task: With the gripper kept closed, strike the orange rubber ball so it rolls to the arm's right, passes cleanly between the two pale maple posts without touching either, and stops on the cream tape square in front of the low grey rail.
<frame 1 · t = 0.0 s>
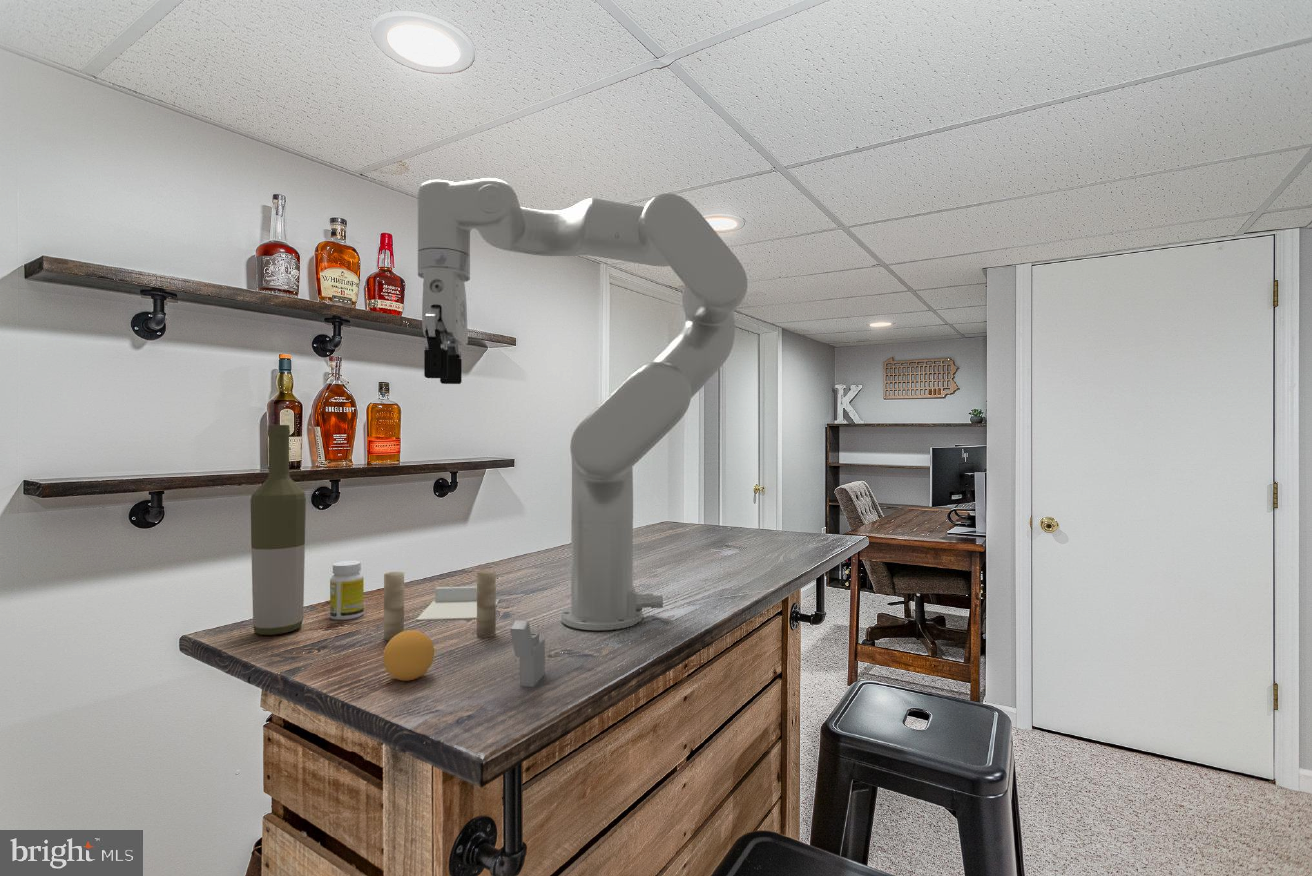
hand: (443, 381, 96), 37 cm above the table, tool pointing down, fingers open, 9 cm apart
stopper rail: (465, 601, 109), on the table
post 2: (486, 634, 91), on the table
supplement bottle: (346, 617, 101), on the table
ball: (409, 654, 75), on the table
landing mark: (460, 609, 104), on the table
lighter: (528, 686, 73), on the table
post 1: (394, 637, 90), on the table
bottle: (278, 632, 93), on the table
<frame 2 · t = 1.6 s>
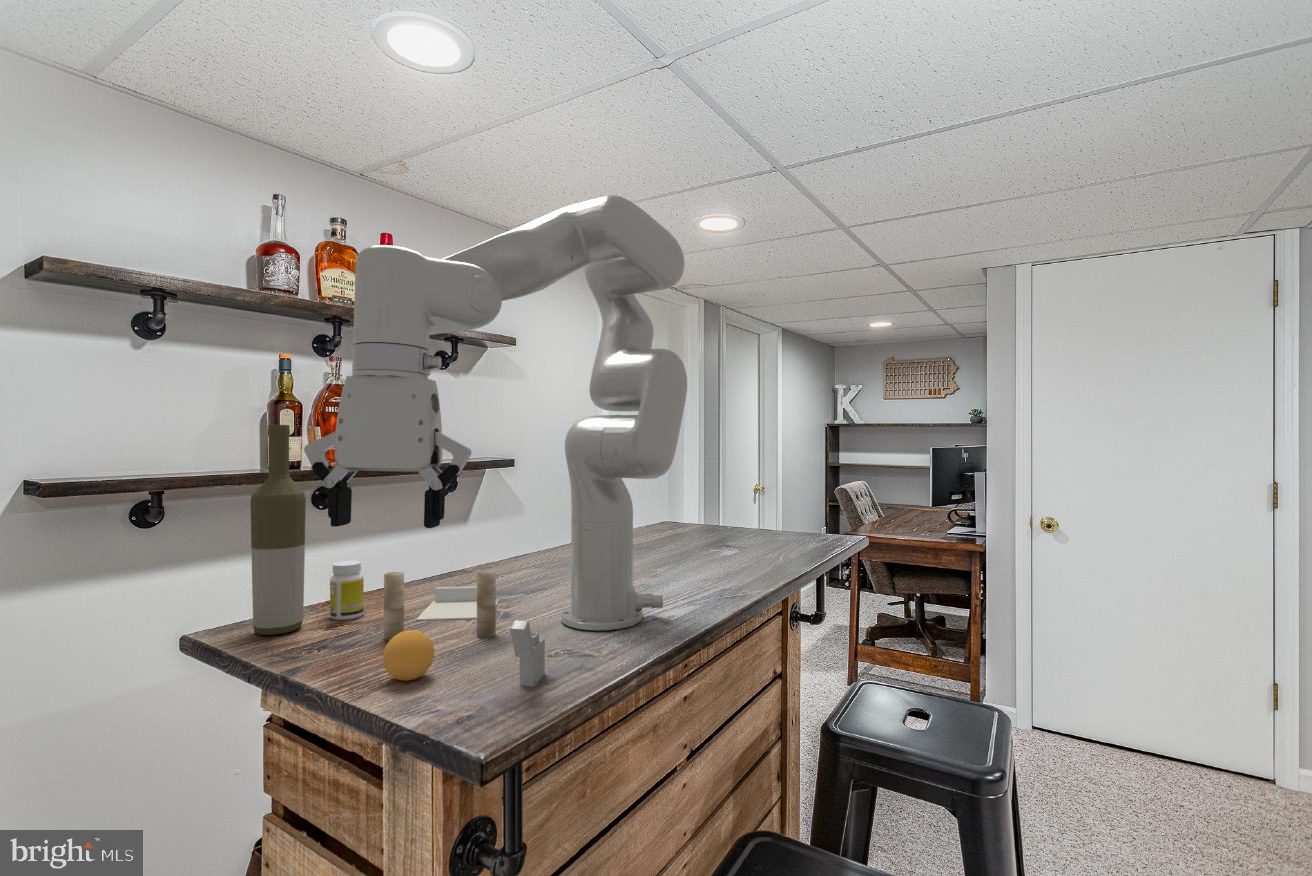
hand: (386, 525, 68), 19 cm above the table, tool pointing down, fingers open, 9 cm apart
nothing on the table moved.
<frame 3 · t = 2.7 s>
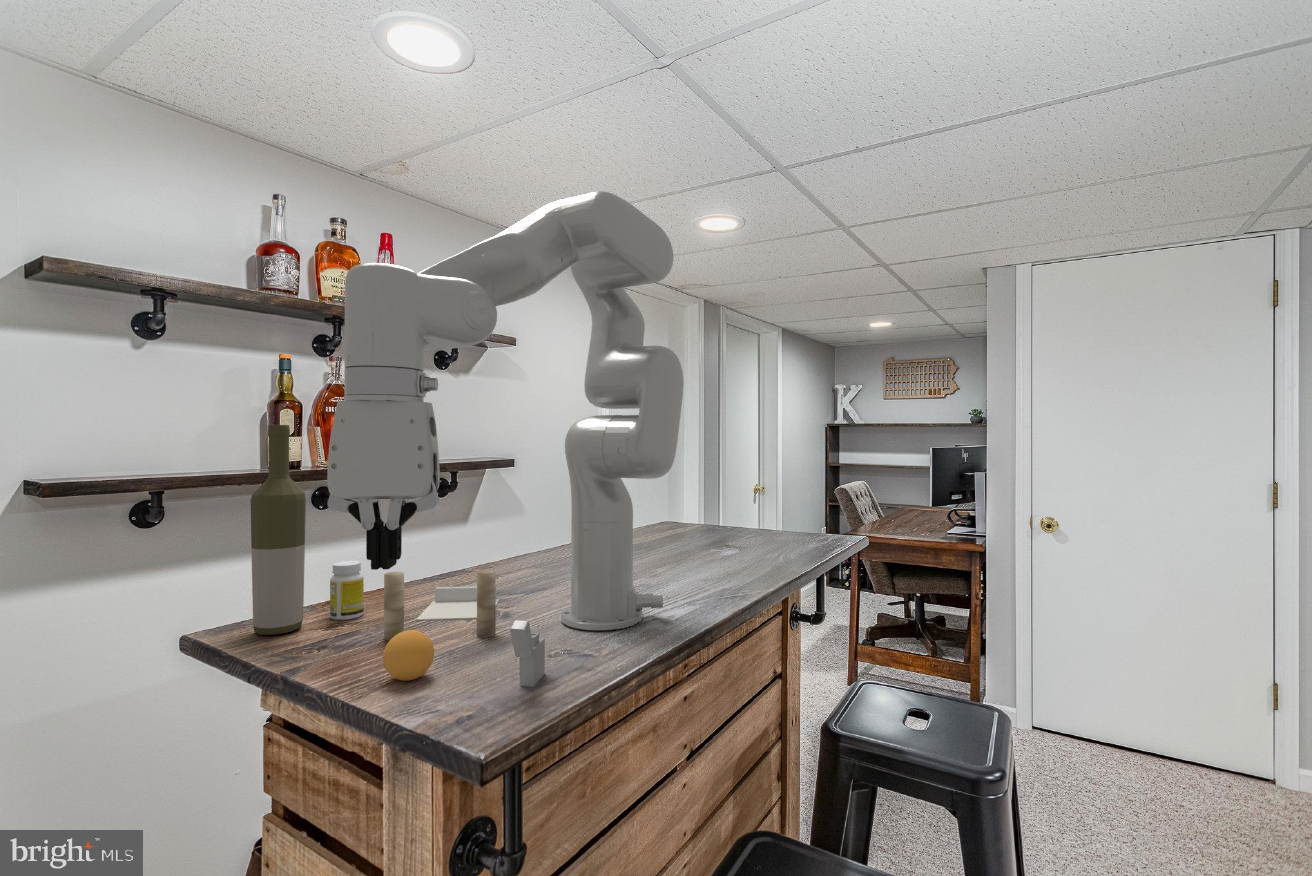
hand: (384, 566, 66), 15 cm above the table, tool pointing down, fingers closed
nothing on the table moved.
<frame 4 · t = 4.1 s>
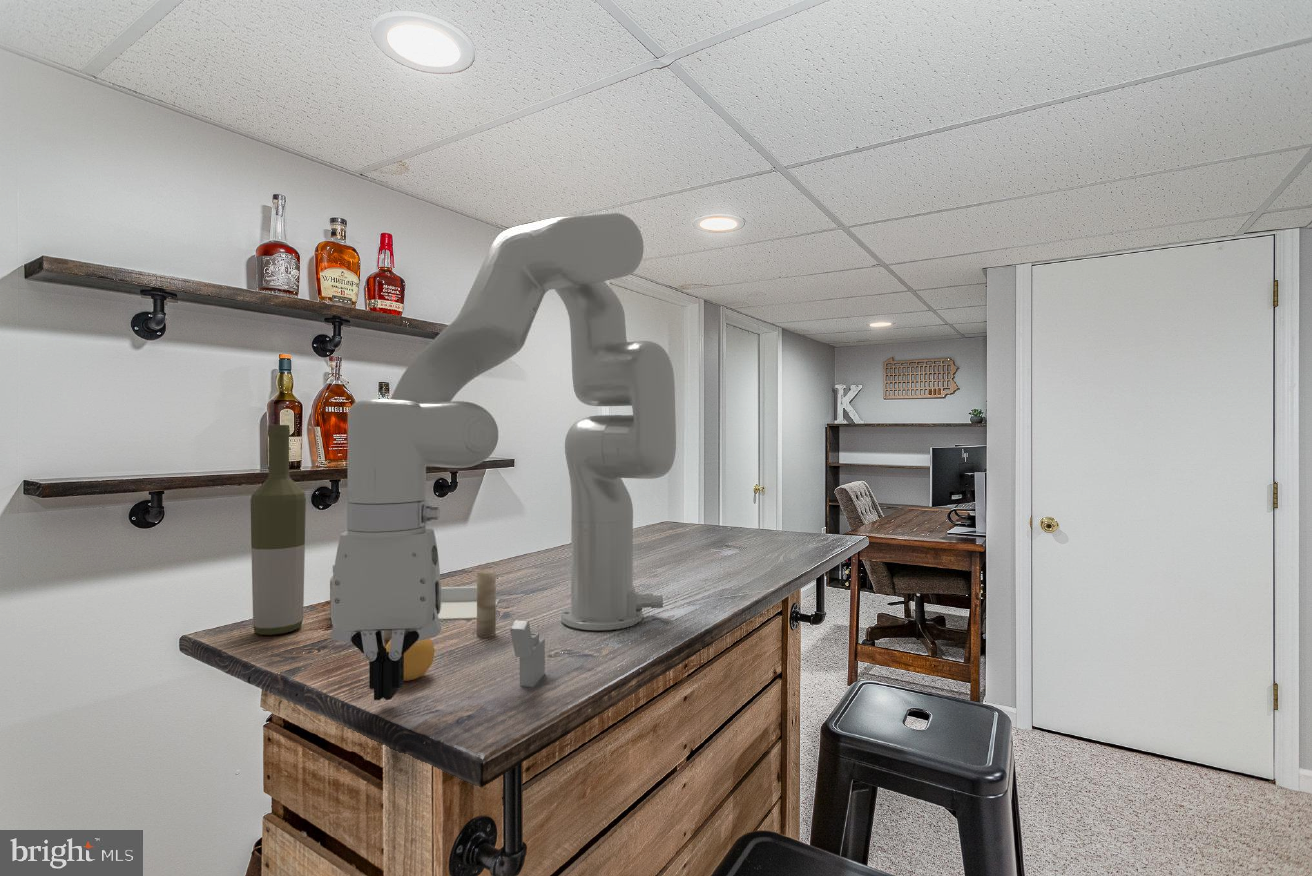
hand: (386, 694, 66), 2 cm above the table, tool pointing down, fingers closed
nothing on the table moved.
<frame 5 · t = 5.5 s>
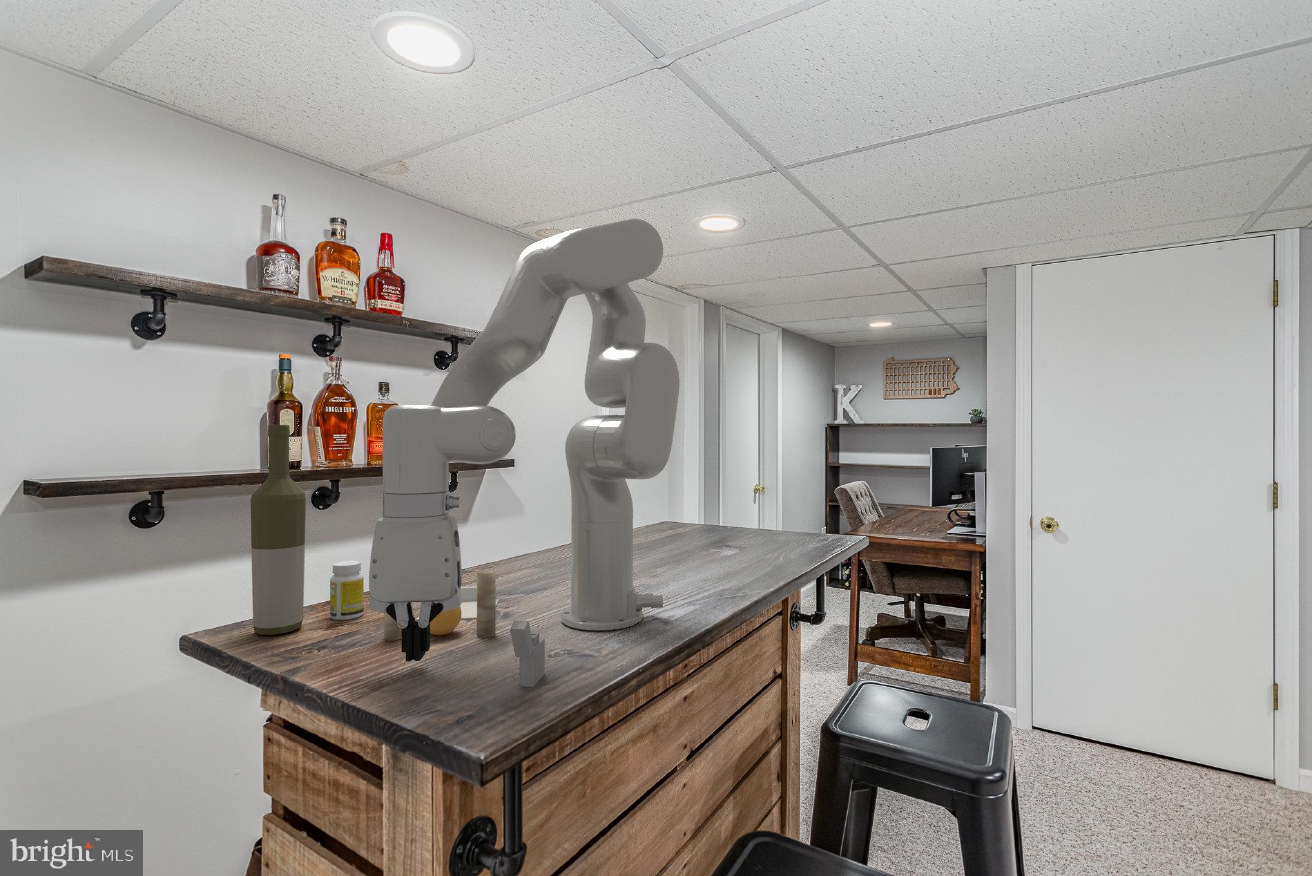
hand: (415, 657, 78), 1 cm above the table, tool pointing down, fingers closed
ball: (441, 614, 91), on the table
everything else where it was.
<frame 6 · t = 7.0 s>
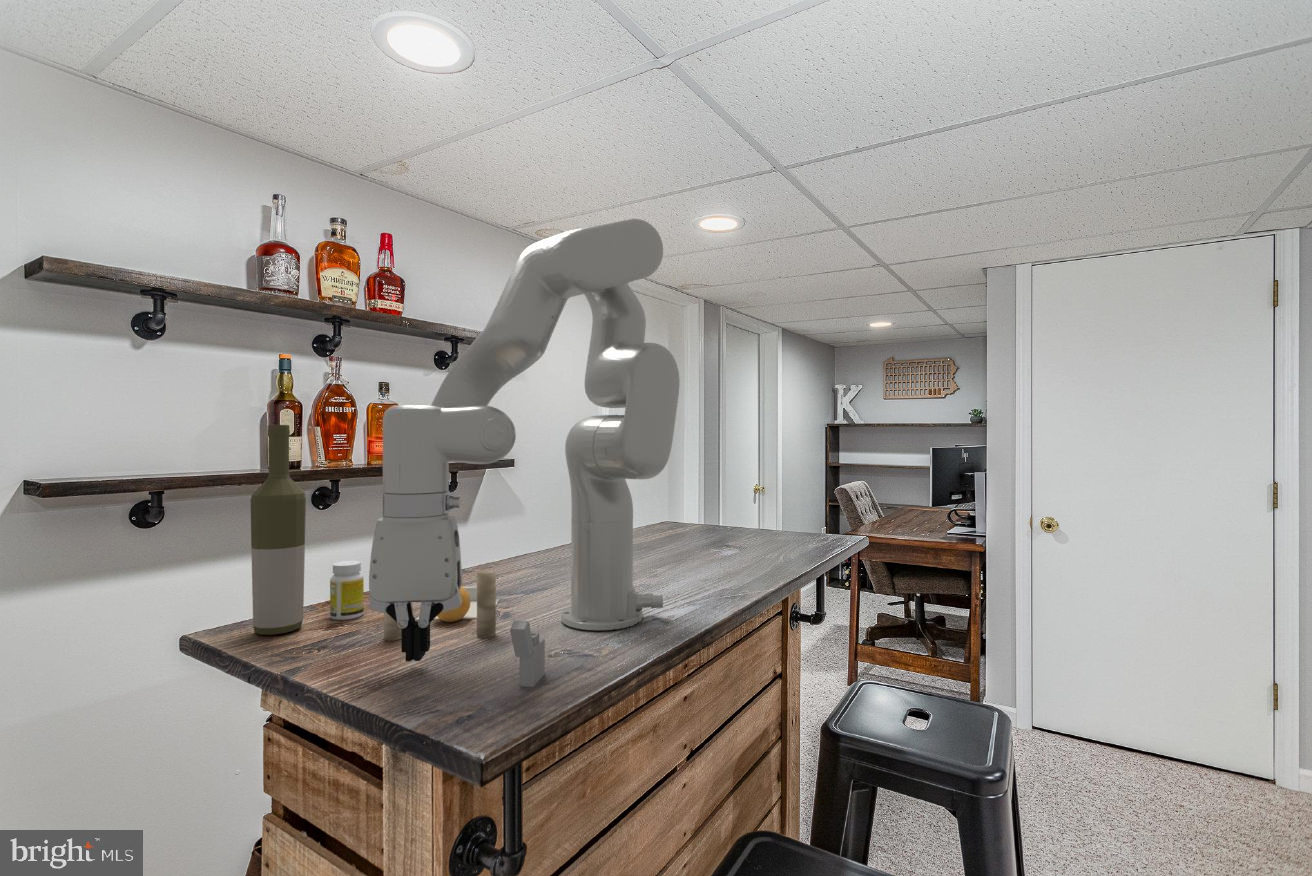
hand: (415, 657, 78), 1 cm above the table, tool pointing down, fingers closed
ball: (451, 602, 98), on the table
everything else where it was.
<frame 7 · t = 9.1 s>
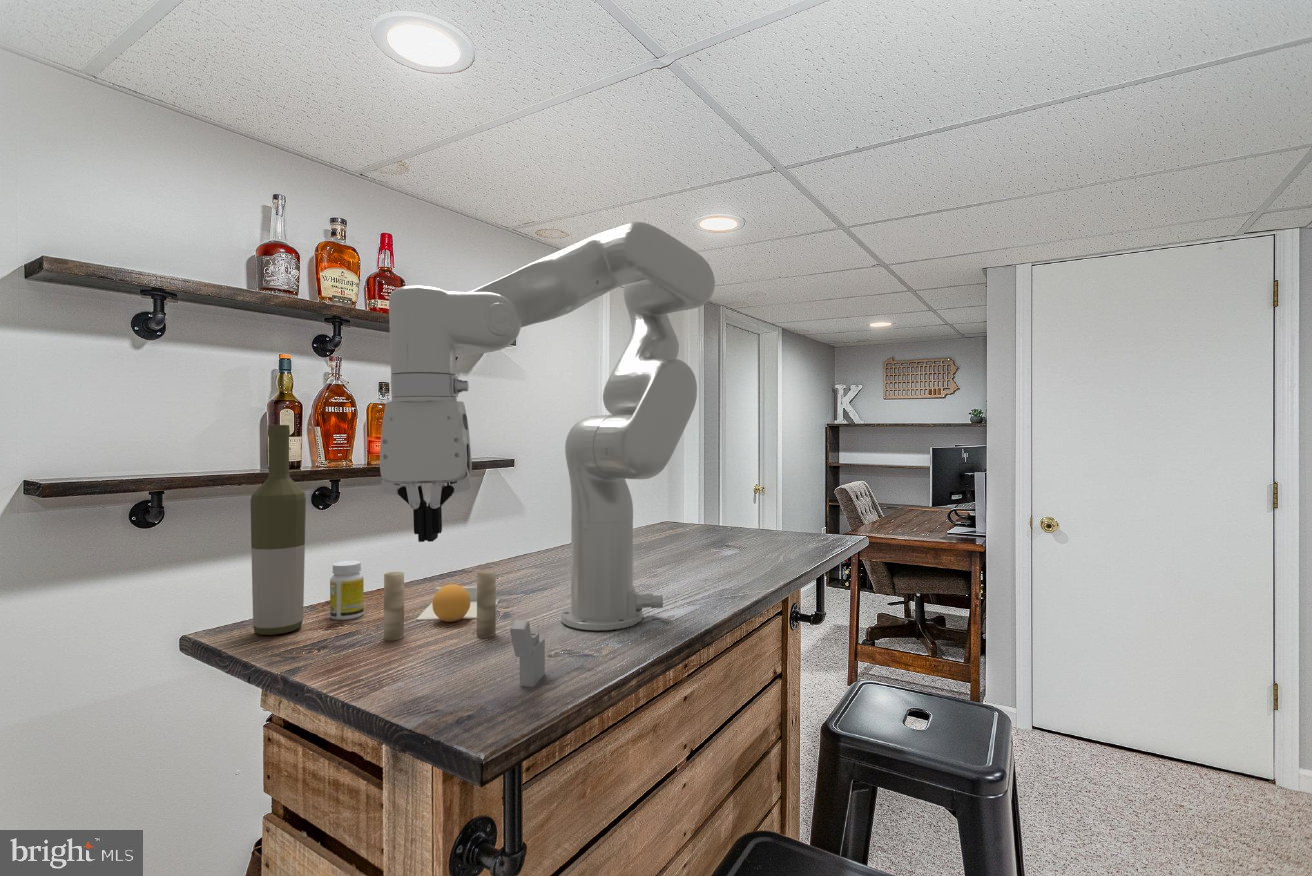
hand: (428, 539, 78), 16 cm above the table, tool pointing down, fingers closed
nothing on the table moved.
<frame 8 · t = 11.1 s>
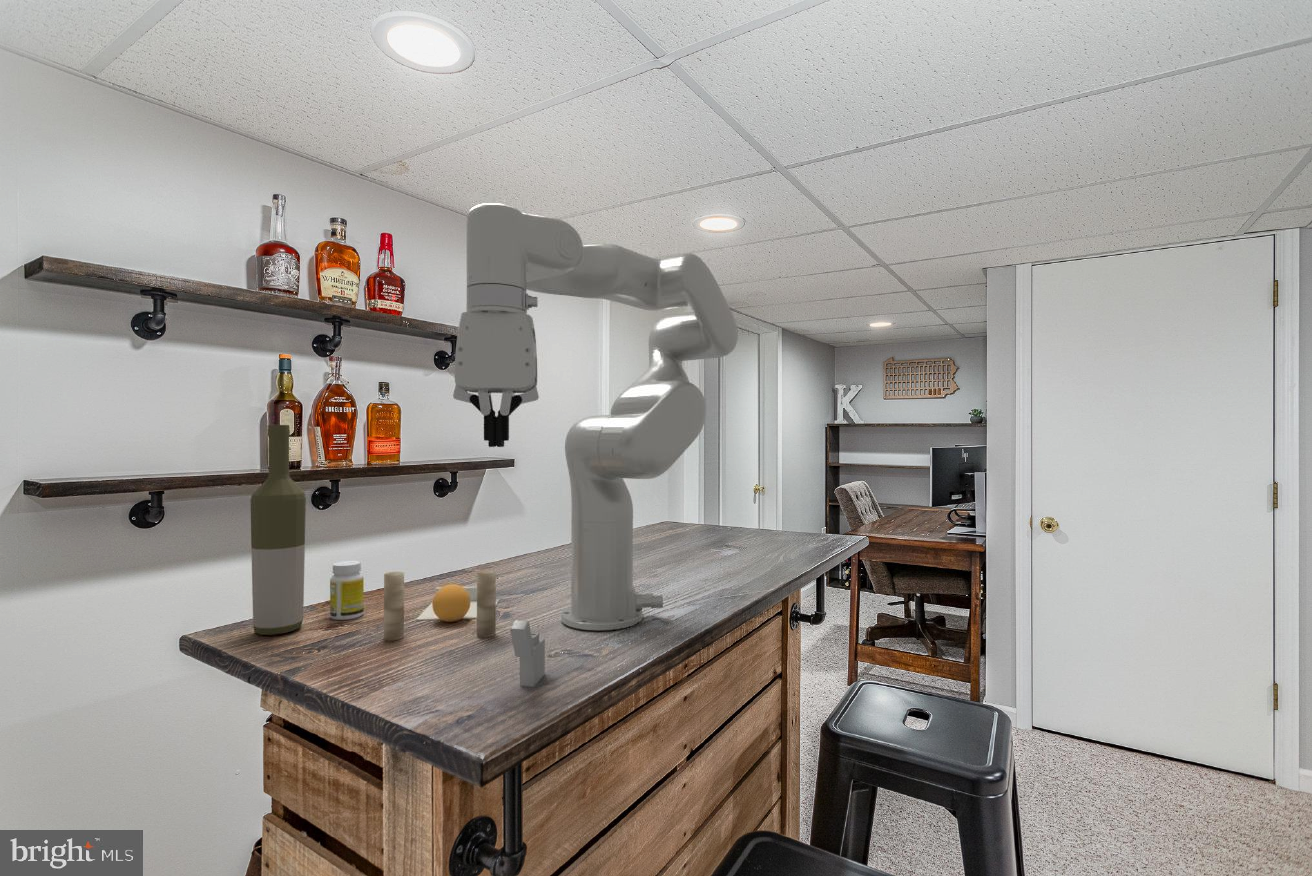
hand: (496, 446, 82), 27 cm above the table, tool pointing down, fingers closed
nothing on the table moved.
at the end: ball 6.5 cm from the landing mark (horizontally); ball never touched post 2; ball never touched post 1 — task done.
